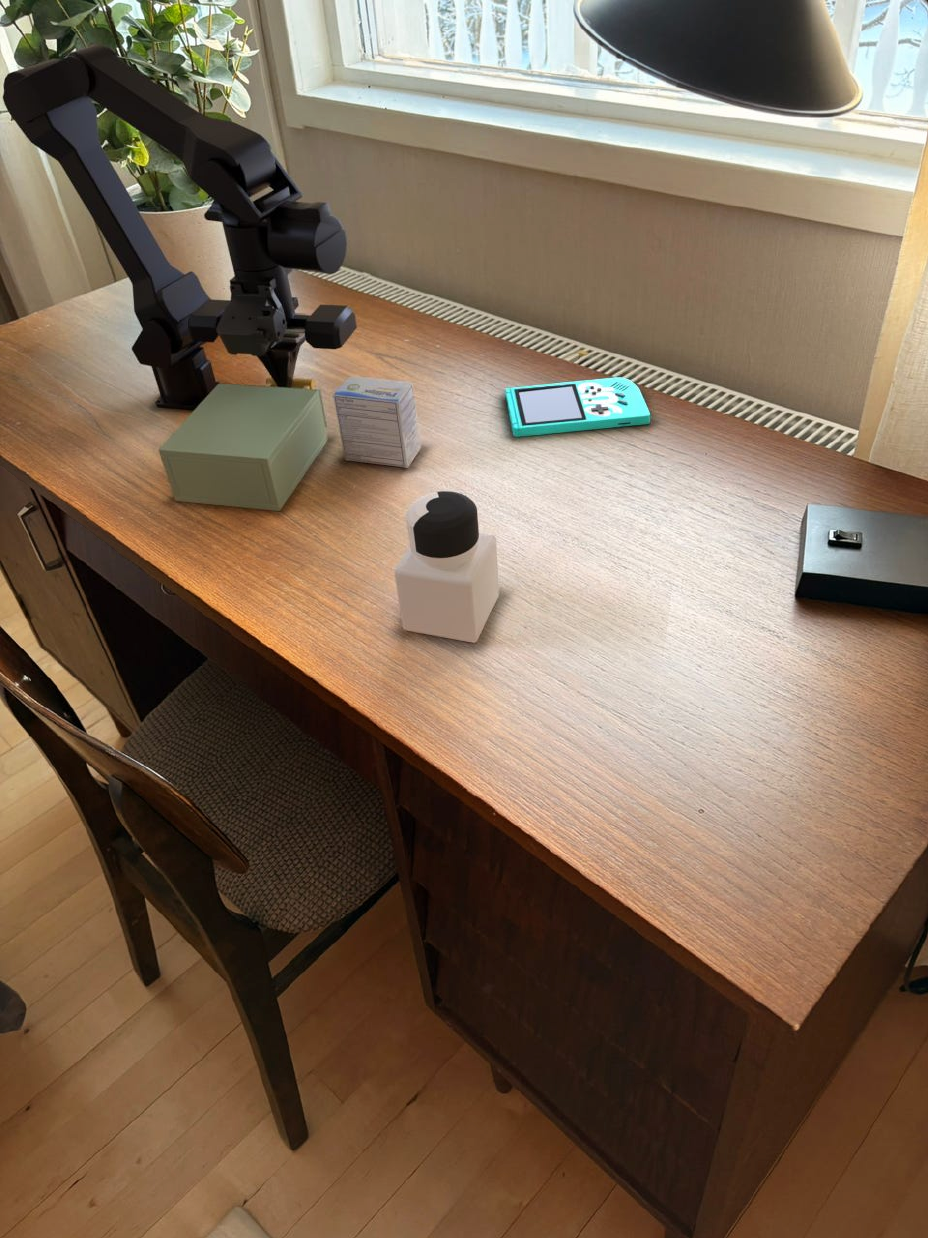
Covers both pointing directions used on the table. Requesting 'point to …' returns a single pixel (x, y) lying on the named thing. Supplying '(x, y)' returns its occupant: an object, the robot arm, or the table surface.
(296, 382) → the drawer
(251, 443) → the cabinet
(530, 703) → the table surface
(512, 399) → the handheld game console
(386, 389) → the medicine box
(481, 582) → the medicine bottle
